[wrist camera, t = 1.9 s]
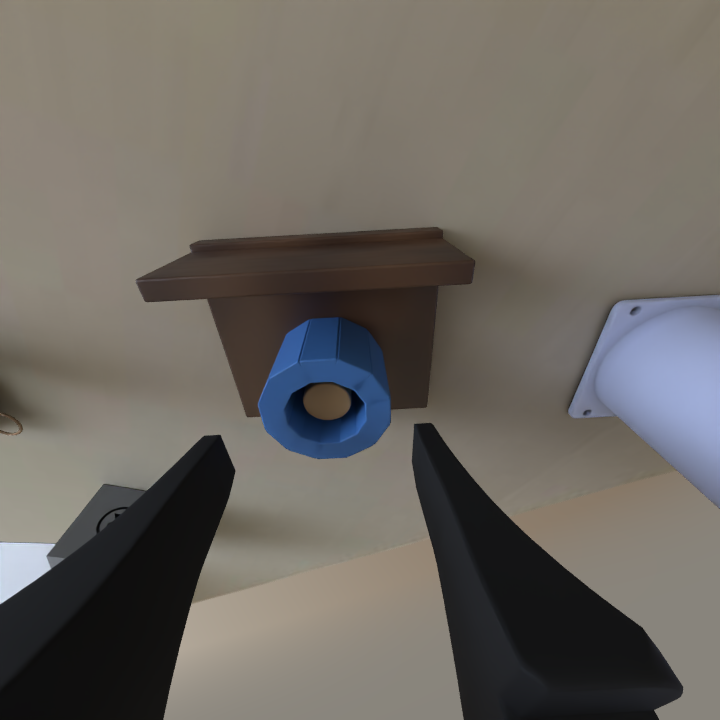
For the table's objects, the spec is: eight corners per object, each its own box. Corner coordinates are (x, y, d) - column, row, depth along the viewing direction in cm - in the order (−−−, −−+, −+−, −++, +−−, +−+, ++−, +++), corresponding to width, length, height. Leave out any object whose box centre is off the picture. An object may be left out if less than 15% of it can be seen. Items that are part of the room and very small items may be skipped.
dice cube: (103, 484, 22) (46, 556, 18) (173, 496, 23) (135, 566, 19) (109, 519, 25) (59, 590, 21) (172, 529, 26) (137, 598, 22)
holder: (438, 226, 14) (478, 250, 9) (423, 397, 19) (445, 462, 15) (197, 240, 14) (128, 270, 9) (251, 406, 19) (222, 474, 15)
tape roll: (382, 314, 15) (391, 356, 11) (382, 401, 18) (390, 455, 14) (269, 320, 15) (244, 364, 11) (288, 406, 18) (274, 461, 14)
